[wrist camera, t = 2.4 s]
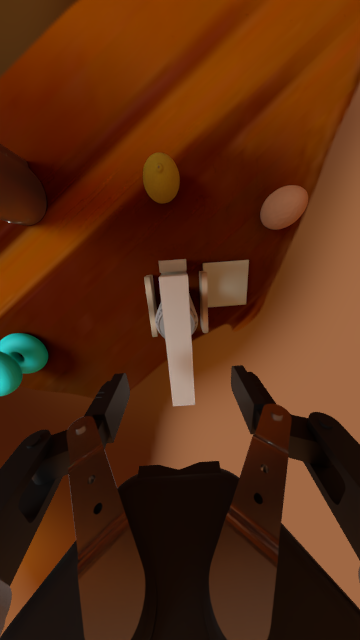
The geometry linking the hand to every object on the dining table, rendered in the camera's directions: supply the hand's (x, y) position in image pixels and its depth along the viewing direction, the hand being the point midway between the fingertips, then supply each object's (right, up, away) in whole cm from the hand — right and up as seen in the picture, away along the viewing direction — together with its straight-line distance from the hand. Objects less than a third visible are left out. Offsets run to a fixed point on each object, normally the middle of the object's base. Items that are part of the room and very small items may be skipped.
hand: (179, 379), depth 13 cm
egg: (+17, +24, +18) cm, 34 cm away
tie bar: (0, +2, +7) cm, 7 cm away
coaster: (+9, +12, +22) cm, 27 cm away
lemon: (-3, +27, +17) cm, 32 cm away
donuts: (-36, -3, +27) cm, 45 cm away
